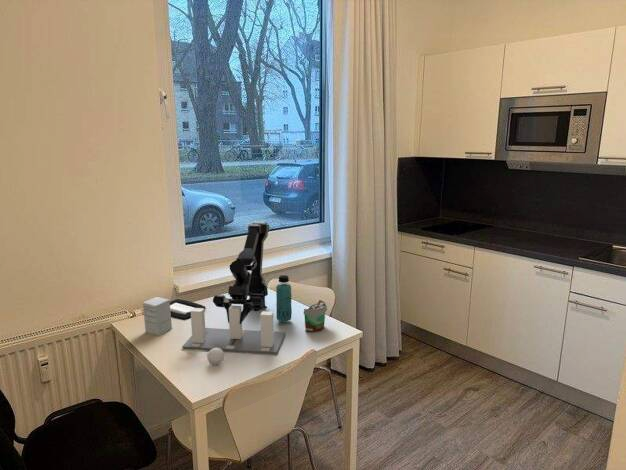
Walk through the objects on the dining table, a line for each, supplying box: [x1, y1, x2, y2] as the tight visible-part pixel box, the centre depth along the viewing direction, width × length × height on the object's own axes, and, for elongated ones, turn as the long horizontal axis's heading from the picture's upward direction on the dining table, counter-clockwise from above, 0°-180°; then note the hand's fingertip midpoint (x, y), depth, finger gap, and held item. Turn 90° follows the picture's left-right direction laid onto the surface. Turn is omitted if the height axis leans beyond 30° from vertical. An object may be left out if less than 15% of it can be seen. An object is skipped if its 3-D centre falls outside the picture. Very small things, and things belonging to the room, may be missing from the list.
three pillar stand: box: [182, 308, 286, 356], centre depth 160 cm, size 16×35×13 cm, turn 83°
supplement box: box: [142, 296, 173, 336], centre depth 169 cm, size 7×7×13 cm
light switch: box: [170, 298, 207, 321], centre depth 190 cm, size 20×3×14 cm
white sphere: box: [201, 348, 225, 366], centre depth 145 cm, size 8×6×6 cm
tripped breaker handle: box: [228, 304, 243, 339], centre depth 161 cm, size 3×4×12 cm
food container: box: [303, 299, 328, 333], centre depth 171 cm, size 12×6×10 cm, turn 148°
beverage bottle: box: [275, 274, 293, 322], centre depth 176 cm, size 6×7×20 cm
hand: (234, 323), depth 159 cm, fingers closed on tripped breaker handle, 4 cm apart
